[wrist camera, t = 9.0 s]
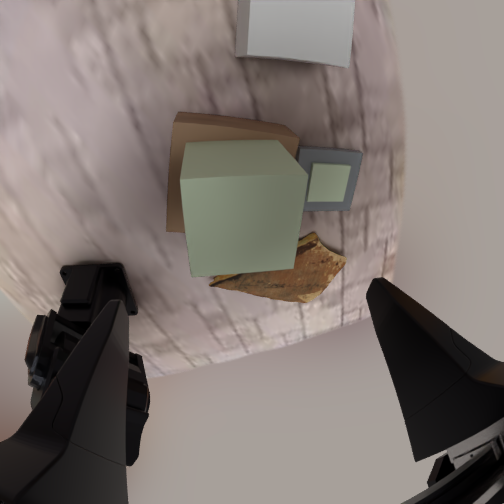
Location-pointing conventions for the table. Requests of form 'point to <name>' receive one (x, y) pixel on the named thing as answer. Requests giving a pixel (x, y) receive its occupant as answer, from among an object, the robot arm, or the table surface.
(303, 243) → the shard
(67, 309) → the robot arm
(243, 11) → the grey cube
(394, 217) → the table surface
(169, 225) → the walnut block
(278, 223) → the sage cube
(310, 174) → the card
